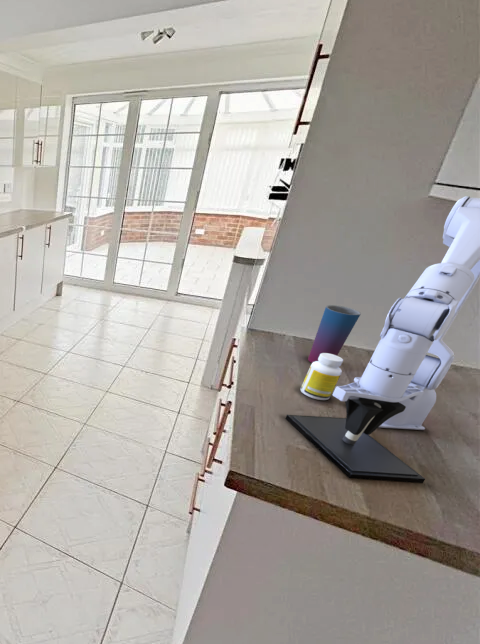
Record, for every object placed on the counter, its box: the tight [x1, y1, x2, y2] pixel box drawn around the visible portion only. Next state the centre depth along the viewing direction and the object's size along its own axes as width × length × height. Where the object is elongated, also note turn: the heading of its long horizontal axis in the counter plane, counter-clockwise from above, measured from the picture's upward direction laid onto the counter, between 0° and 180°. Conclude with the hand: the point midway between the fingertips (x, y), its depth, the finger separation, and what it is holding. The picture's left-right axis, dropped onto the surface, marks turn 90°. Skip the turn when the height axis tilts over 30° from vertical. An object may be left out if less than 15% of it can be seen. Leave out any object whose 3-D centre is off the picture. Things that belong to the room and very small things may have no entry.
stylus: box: [343, 403, 381, 445], centre depth 74 cm, size 2×2×9 cm
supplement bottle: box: [300, 353, 344, 401], centre depth 92 cm, size 5×5×10 cm
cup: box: [307, 304, 362, 364], centre depth 106 cm, size 7×7×15 cm
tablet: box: [285, 414, 426, 484], centre depth 77 cm, size 12×17×1 cm
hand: (357, 431), depth 75 cm, fingers closed on stylus, 2 cm apart
